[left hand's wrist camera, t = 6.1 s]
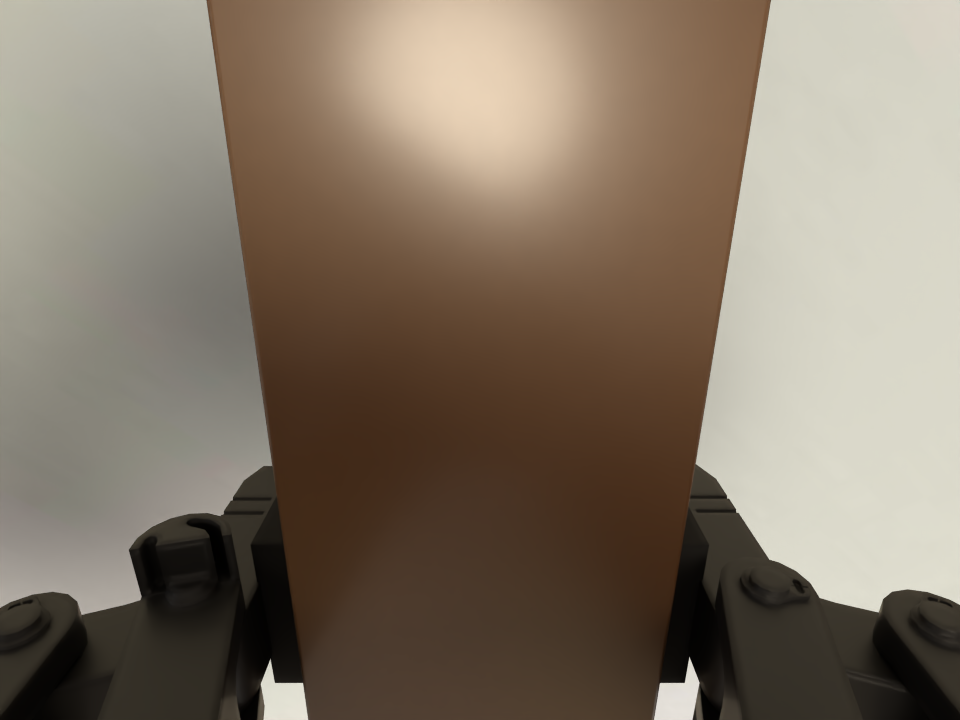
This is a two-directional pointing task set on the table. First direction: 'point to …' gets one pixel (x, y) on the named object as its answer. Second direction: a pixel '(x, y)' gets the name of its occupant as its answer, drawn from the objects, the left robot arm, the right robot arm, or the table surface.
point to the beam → (485, 331)
